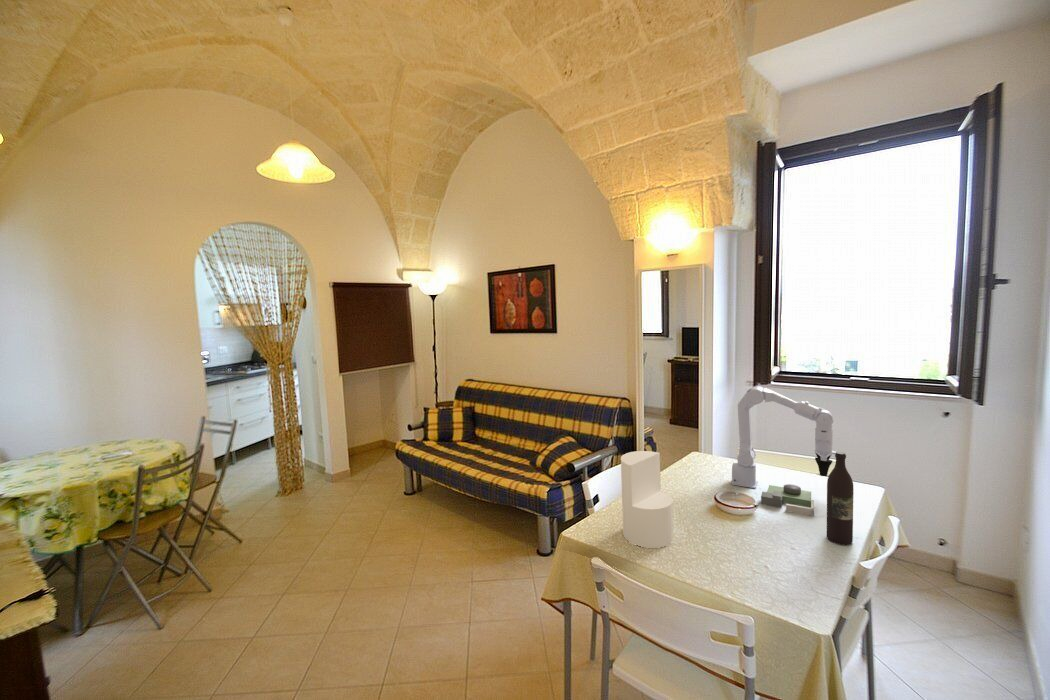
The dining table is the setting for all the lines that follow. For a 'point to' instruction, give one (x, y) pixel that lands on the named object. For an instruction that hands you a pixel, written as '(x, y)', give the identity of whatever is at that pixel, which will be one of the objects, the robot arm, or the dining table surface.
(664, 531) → the white stepped pillar
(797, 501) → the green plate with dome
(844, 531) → the wine bottle
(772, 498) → the grey stepped block
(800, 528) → the dining table surface
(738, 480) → the robot arm
